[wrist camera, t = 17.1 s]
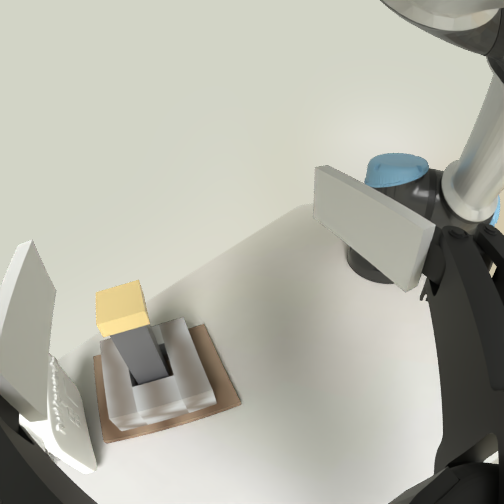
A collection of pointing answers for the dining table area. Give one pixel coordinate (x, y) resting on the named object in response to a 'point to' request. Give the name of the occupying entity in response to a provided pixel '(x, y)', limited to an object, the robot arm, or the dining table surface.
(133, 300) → the plug
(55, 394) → the cable organizer
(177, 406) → the socket
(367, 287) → the dining table surface
